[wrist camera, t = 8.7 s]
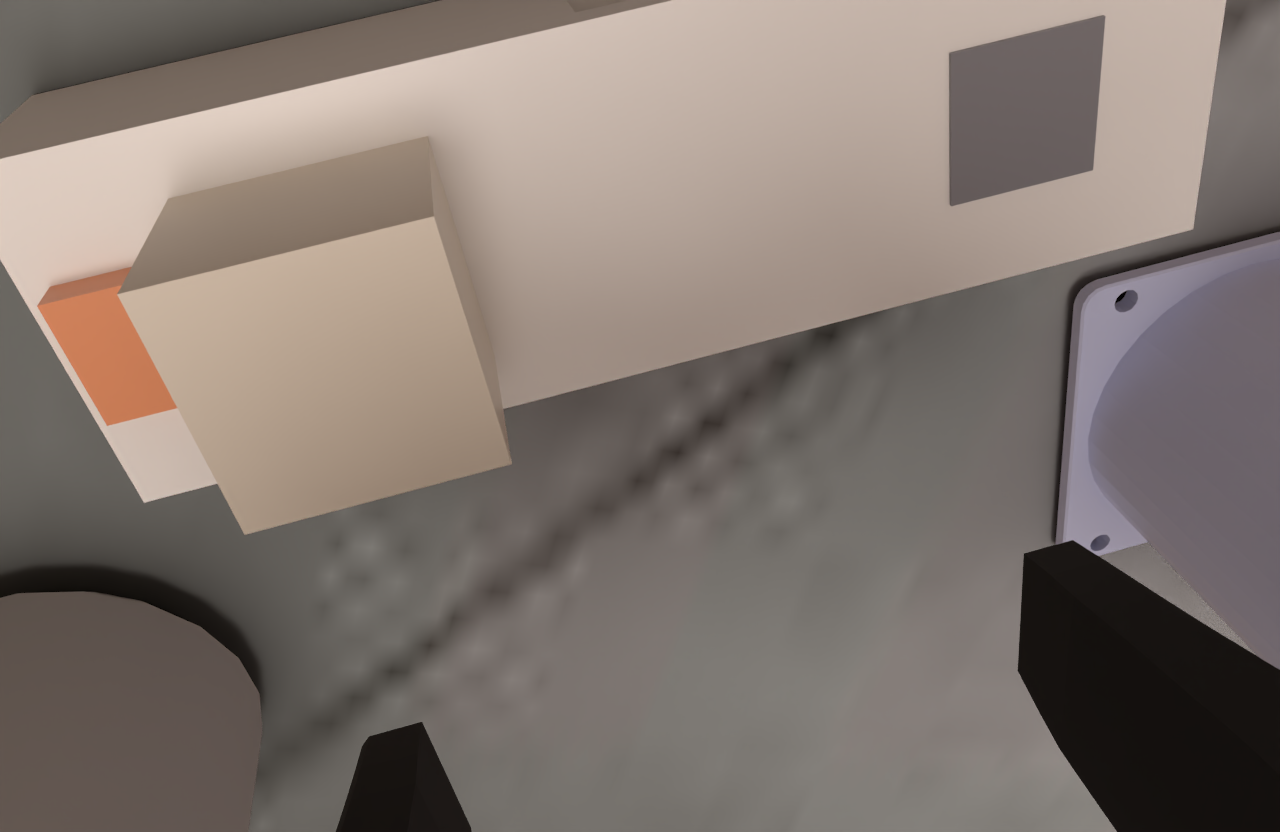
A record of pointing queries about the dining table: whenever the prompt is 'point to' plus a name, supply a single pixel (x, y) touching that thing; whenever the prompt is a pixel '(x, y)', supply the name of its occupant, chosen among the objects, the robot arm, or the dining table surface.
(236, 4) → the dining table surface
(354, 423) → the beige plug
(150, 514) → the dining table surface
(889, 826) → the dining table surface
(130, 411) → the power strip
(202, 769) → the can
